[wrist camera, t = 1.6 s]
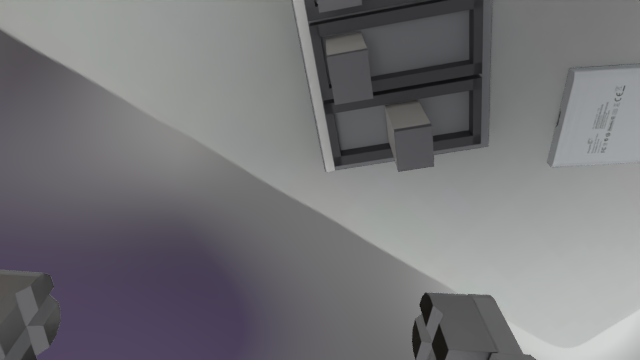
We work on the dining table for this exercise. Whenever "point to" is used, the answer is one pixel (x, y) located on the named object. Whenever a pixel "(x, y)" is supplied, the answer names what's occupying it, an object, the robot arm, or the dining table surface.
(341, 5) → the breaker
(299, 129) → the dining table surface
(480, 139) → the panel
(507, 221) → the dining table surface
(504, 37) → the dining table surface
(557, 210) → the dining table surface
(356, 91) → the block
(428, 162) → the block
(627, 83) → the external hard drive
